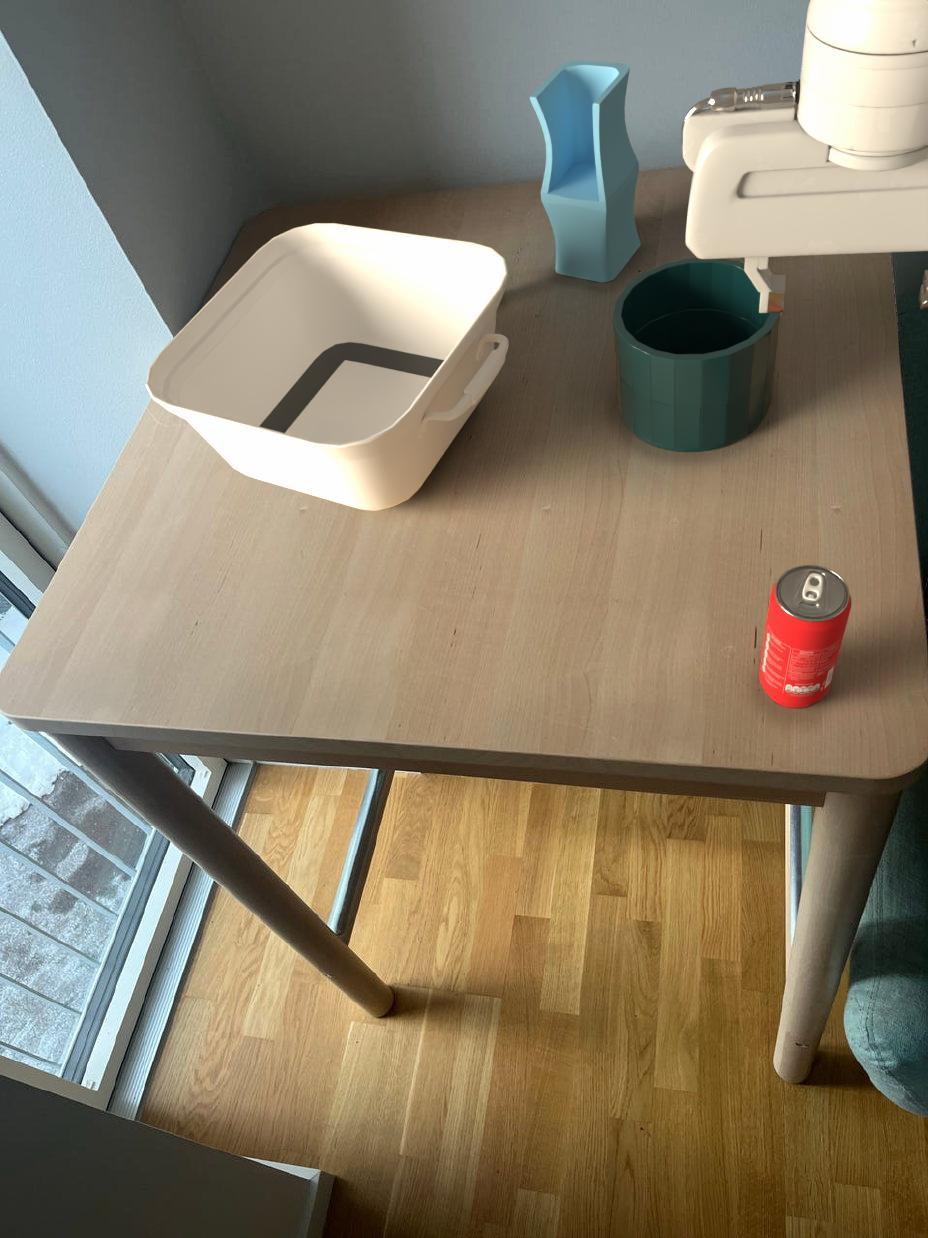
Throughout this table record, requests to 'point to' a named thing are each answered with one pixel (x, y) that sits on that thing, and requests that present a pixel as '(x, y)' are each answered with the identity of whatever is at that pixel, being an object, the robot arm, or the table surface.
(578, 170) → the vase
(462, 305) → the white storage bin
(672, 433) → the enamel pot
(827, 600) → the beverage can
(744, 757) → the table surface
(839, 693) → the table surface
